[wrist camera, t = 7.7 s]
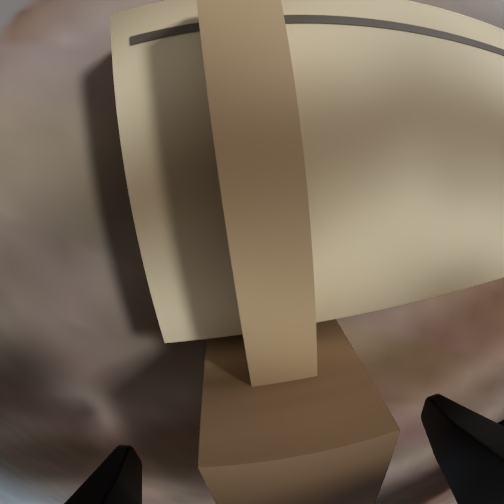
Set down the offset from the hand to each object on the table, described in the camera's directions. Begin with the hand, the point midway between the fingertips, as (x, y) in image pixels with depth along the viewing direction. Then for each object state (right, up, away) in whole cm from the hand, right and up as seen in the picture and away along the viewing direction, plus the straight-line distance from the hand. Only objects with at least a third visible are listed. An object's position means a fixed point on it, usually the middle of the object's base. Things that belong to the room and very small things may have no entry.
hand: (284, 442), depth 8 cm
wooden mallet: (-1, +5, +2) cm, 6 cm away
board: (+8, +9, +2) cm, 12 cm away
